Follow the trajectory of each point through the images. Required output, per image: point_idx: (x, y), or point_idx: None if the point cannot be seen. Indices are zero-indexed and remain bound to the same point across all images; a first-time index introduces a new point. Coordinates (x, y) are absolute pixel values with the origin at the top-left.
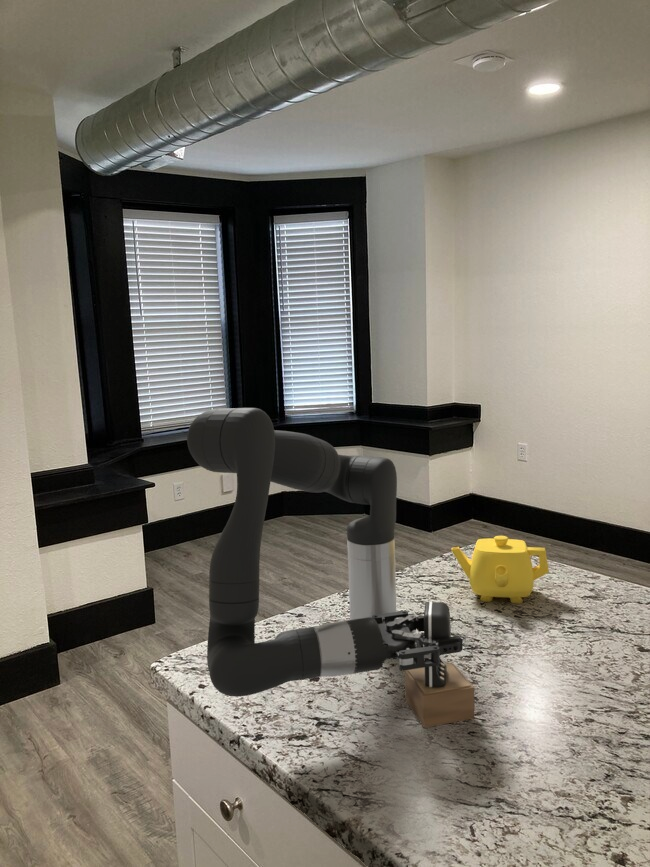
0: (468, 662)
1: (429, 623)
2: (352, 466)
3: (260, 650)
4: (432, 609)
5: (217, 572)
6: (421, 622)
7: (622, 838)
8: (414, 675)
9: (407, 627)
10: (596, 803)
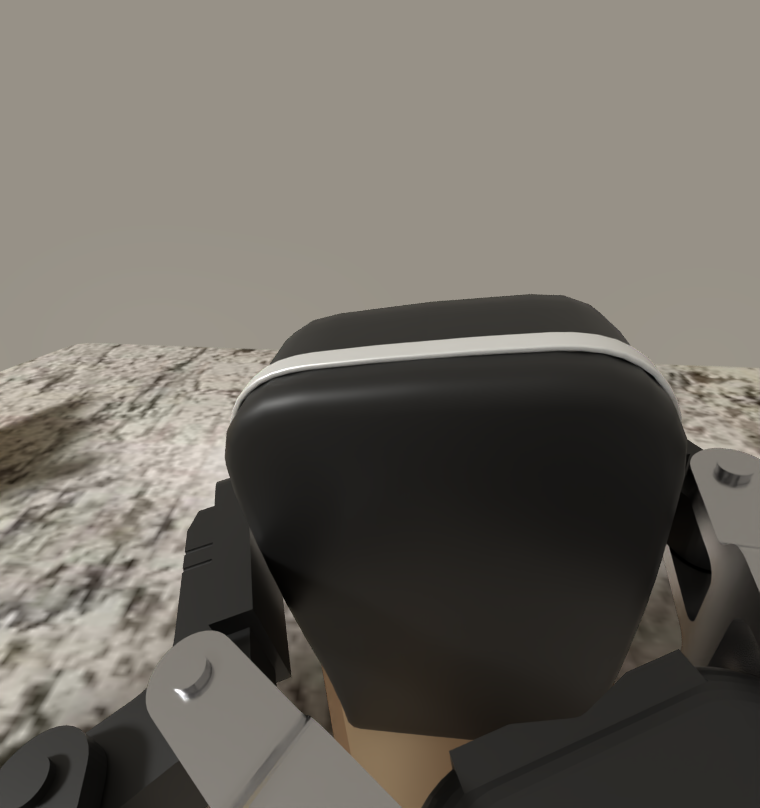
0: (170, 601)
1: (674, 404)
2: None
3: None
4: (480, 337)
5: None
6: (265, 608)
7: None
8: None
9: (464, 751)
10: (749, 406)
